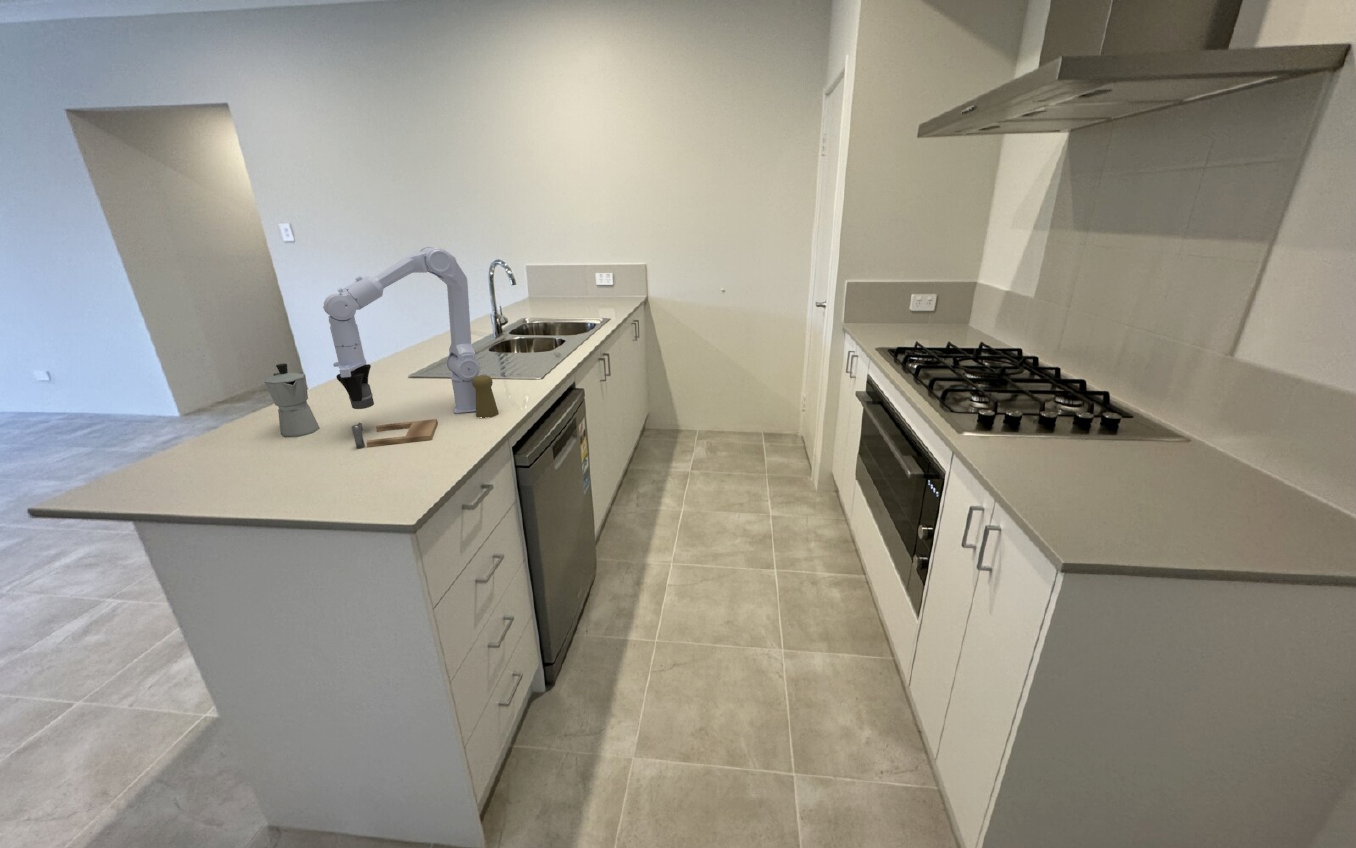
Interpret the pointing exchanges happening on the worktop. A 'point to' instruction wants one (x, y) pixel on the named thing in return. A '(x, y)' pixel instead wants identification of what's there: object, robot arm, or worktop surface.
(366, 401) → the grey flanged cylinder
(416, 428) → the brown wooden u-shaped bracket
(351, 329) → the robot arm
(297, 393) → the coffee maker
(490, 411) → the olive pawn
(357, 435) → the hook
